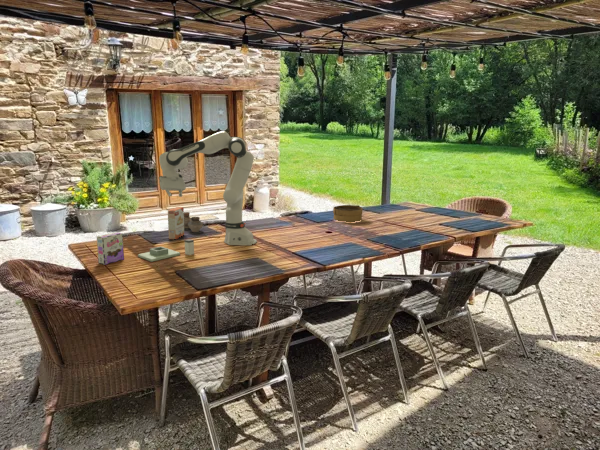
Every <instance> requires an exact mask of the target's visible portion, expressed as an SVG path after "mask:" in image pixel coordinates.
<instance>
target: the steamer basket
mask: <svg viewBox="0 0 600 450" xmlns="http://www.w3.org/2000/svg"><path fill="white" fill-rule="evenodd" d="M332 213H333V220H334V219H335V220H338V221H346V222H355V221H360V220H362V221H363V219H362V218H363V217H362V216H363V207H362V206H357V205H347V204H346V205H336V206H333V210H332Z"/></svg>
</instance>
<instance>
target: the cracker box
mask: <svg viewBox="0 0 600 450" xmlns="http://www.w3.org/2000/svg"><path fill="white" fill-rule="evenodd" d="M167 226H168V230H167V231H168V239H169V240H174V239H176V240H178V239H180V238H182V237H184V236H185V228H184V207H181V206H180V207H179V206H175V207H173V208H171V209H168V210H167ZM183 235H184V236H183ZM181 236H182V237H181ZM179 237H180V238H179Z"/></svg>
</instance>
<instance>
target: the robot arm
mask: <svg viewBox="0 0 600 450" xmlns="http://www.w3.org/2000/svg"><path fill="white" fill-rule="evenodd" d="M246 146H247V145H246V141H245V140H244V139H243V138H242V137H240V136H230V134H229V133H228V132H227V131H225V130H223V131H218V132H216V133H213V134H212V135H209V136H207V137H205V138H203V139H201V140H199V141H195V142H193V143H190V144H189V145H185V146H183V147H181V148H177V149H171V150H169V151H166V152H163V153H161V154H160V155H159V158H158V161H159V165H160V169H161V171H162V172H161V173H162V175H160V176H159V177H158V179H159V182H158V183H159V188H160V190H161V191H165V192H166V194H167V195H168V197H172V196H173V193H171V191H178V197H180V198H181V197H183V191H185V190H186V183H185V180H184V176H183V174H180V173H178V172H177V170H182V169H185V168H187V166H188V165H189V159H188V157H191V156H193V155H195V154H205V155H212V154H215V153H217V152H219V151H221V150H223V149H228V150H229V152H230V154H232V155H233V156H235V157H236V161H235V164H234V166H233V167H234V168H233V170H232V173H231V175H230V178H229V180H228V182H227V184H226V187H225V189H224V191H223V194H222V198H223V200H224V202H225V203H226V209H225V236H224V240H223V242H224V243H225V244H227V245H228V246H252V244H253V245H255V244H256V243H257V242H258V241H257V239H255V238H254V234H253V232H252V231H251V230H249V229H248V228H247V227H246V226H245V225H246V222H244V221H243V205H244V203H243V202H244V188H245V186H246V184H247V182H248V179H249V177H250V173H251V170H252V167H253V164H254V158H255V157H254V154H253V153H251V152H250V151H247V149H246V148H247V147H246Z"/></svg>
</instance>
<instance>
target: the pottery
mask: <svg viewBox="0 0 600 450" xmlns="http://www.w3.org/2000/svg"><path fill="white" fill-rule="evenodd" d="M203 226H204V222H203V221H201V220H200V217H199V216H190V212H189V211H188V212H187V211H185V212H184V229H190V230H191V232H192V233H198V232H200V230H201V229H202V228H203Z"/></svg>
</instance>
